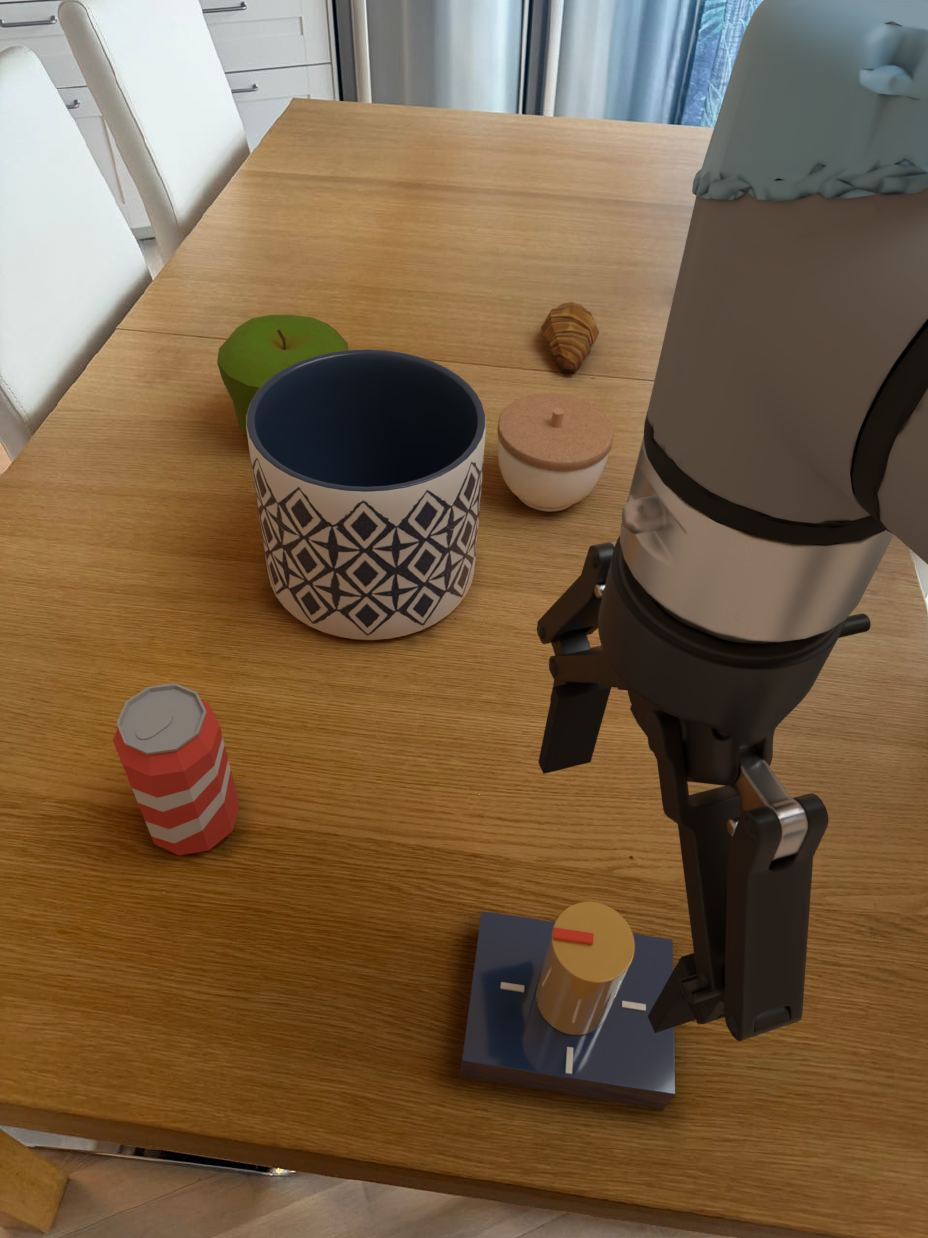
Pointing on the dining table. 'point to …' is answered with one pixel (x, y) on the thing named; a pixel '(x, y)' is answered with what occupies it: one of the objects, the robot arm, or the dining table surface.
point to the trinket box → (553, 449)
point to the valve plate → (547, 1058)
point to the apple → (270, 353)
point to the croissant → (570, 335)
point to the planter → (368, 490)
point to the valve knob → (584, 967)
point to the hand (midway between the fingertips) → (616, 877)
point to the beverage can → (177, 768)
